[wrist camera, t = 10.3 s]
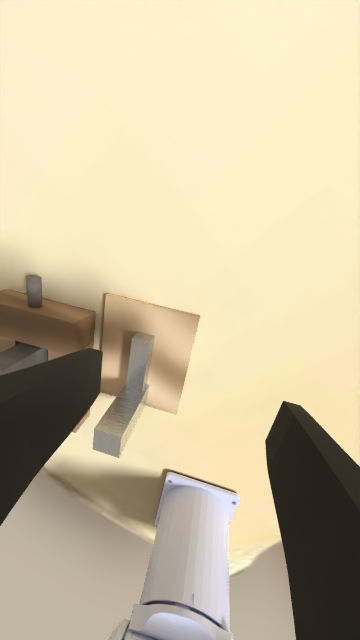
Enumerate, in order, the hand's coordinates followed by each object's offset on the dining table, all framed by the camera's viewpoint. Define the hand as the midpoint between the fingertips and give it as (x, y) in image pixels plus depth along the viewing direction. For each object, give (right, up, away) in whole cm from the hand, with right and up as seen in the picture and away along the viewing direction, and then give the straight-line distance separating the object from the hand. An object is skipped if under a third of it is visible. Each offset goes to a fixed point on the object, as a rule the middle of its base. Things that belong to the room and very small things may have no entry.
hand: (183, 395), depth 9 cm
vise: (-13, 0, +13) cm, 18 cm away
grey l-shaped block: (-4, -1, +11) cm, 12 cm away
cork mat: (-3, 0, +12) cm, 12 cm away
